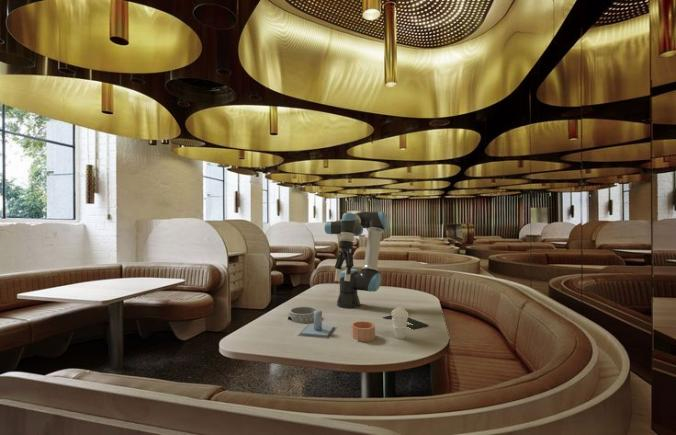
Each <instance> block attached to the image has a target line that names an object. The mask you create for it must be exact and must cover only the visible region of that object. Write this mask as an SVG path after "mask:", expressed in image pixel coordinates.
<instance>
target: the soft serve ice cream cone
mask: <svg viewBox="0 0 676 435" xmlns="http://www.w3.org/2000/svg"><path fill="white" fill-rule="evenodd" d="M390 313H391V314H390V315H391V316H392V327H393V333H394V337H395V339H397V340H403V339H405V337H406V336H405V335H406V331H407V330H406V329H407V326H406V325H407V324H408V323H407V318H408V317H409V313H408V311H407V310H406V308H405V306H404V305H403V304H401V303H400V304H399V305H398V306H397V307H395V308H394V309H393V310H392V311H391V312H390Z"/></svg>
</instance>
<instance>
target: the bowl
mask: <svg viewBox="0 0 676 435" xmlns="http://www.w3.org/2000/svg"><path fill="white" fill-rule="evenodd" d="M350 333H351V338H353V339H354V340H357V342H361V343H362V342H364V343H367V342H371V341H372V342H373V341H374V340H375V338H376V324H375V323H374V322H371V321H365V320H361V321H359V320H358V321H354V322H352V323H351V332H350Z"/></svg>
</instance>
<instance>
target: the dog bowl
mask: <svg viewBox="0 0 676 435" xmlns="http://www.w3.org/2000/svg"><path fill="white" fill-rule="evenodd" d="M316 310H319V309H318V308H316V307H313V306H295V307H292V308H291V309H290V310H289V313H288V317H287V319H289V318H290V319H291V322H292V323H295V324H296V323H297V324H308V323H310V324H311V323H314V311H316Z"/></svg>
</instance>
